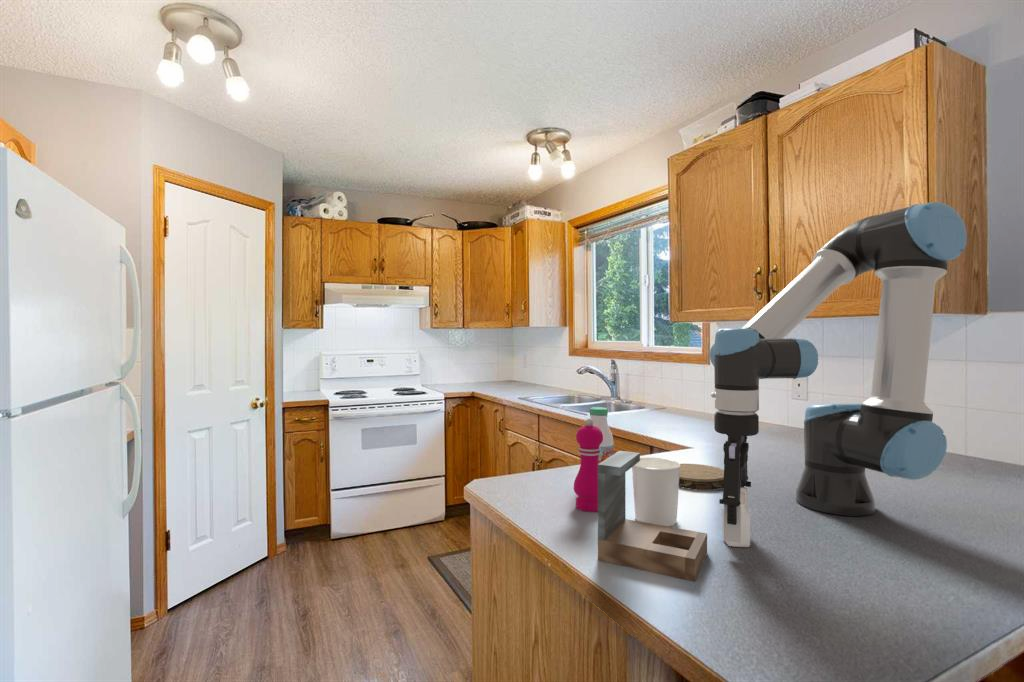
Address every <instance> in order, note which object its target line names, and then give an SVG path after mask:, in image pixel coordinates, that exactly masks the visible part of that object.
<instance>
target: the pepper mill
mask: <svg viewBox="0 0 1024 682" xmlns="http://www.w3.org/2000/svg"><path fill="white" fill-rule="evenodd" d="M593 423H594V422H593V420H592V419H591V418H586V420H585V425H582V426H581V427H579V429H578V430H577V431H576V435H575V440H576V442H577V444H578V445H579V446H578V448H577V449H578V454H579V455H580V456H579V457H580V465H579V470H578V472H577V474H576V476H575V479H574V482H573V491H574V493H575V494H576V495H577V497H576V498H575V507H576V509H578V510H580V511H583V512H591V513H592V512H593V513H594V512H598V464H599V461H598V459H599V455H600V454H601V452H600V450H601V448H600V447H599V446H600V444H601V443H602V441H603V434H602V431H601V430H600V429H599V428H598V427H596V426H593Z"/></svg>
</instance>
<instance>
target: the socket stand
mask: <svg viewBox="0 0 1024 682" xmlns="http://www.w3.org/2000/svg"><path fill="white" fill-rule="evenodd" d="M640 458H641V452H634V451H624V450H618V451H616V452H614V454H613V455H612V456H610V457H609V458H607V459H605V460H604V461H602V462H601V463H599V464H598V511H597V560H598V561H600V562H606V563H611V564H615V565H619V566H625V567H628V568H633V569H637V570H642V571H646V572H651V573H655V574H660V575H664V576H665V575H666V576H669V577H673V578H678V579H682V580H687V581H692V582H696V580H697V578H698V576H699V573H700V571H701V568H702V566H703V563H704V562H705V559H706V557H707V555H706V554H708V533H706V532H701V531H696V530H691V529H690V530H689V529H684V528H678V527H672V526H669V527H668V526H662V525H656V524H651V523H645V522H639V521H637V520H634V519H628V518H626V472H628V471H629V470H630V469H632V467H633V466H634V465H635V464H637V463H638V462H639V461H640ZM703 561H704V562H703Z"/></svg>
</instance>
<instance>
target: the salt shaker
mask: <svg viewBox="0 0 1024 682" xmlns="http://www.w3.org/2000/svg"><path fill="white" fill-rule="evenodd" d="M728 497H731V496H728ZM731 498H735V497H731ZM740 502H741V503H740V505H741V543H736V542H730V541H725V540H724V507H723V508H722V539H723V541H724V542H725V543H726V544H727V546H728V547H731V546H732V547H733V548H735V547H737V548H749V547H750V545H751V514H750V512H749V511H748V509H747V510H746V509H745V504H746V503H745V493H744V492H742V491H740ZM732 547H731V548H732Z"/></svg>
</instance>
